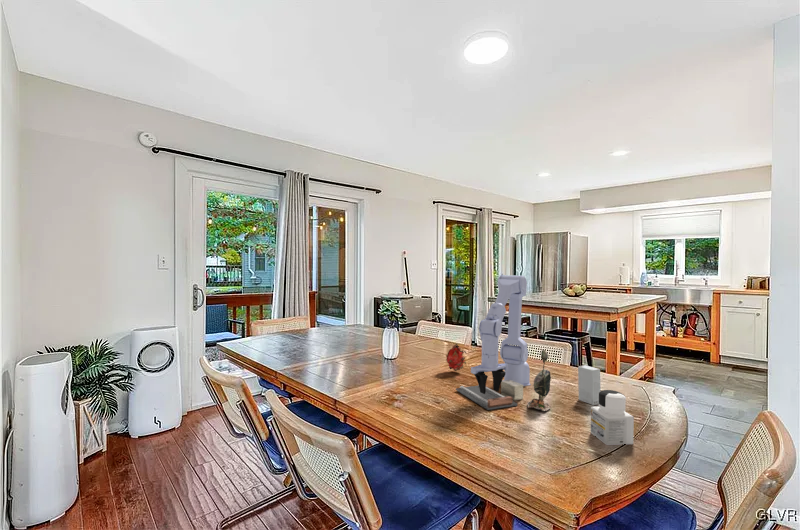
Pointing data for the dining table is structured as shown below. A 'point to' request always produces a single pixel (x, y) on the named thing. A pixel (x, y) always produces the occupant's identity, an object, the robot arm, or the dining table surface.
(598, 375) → the skincare box
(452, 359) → the dragon fruit
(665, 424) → the dining table surface
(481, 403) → the rail guide
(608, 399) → the container
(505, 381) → the block
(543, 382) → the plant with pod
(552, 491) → the dining table surface
